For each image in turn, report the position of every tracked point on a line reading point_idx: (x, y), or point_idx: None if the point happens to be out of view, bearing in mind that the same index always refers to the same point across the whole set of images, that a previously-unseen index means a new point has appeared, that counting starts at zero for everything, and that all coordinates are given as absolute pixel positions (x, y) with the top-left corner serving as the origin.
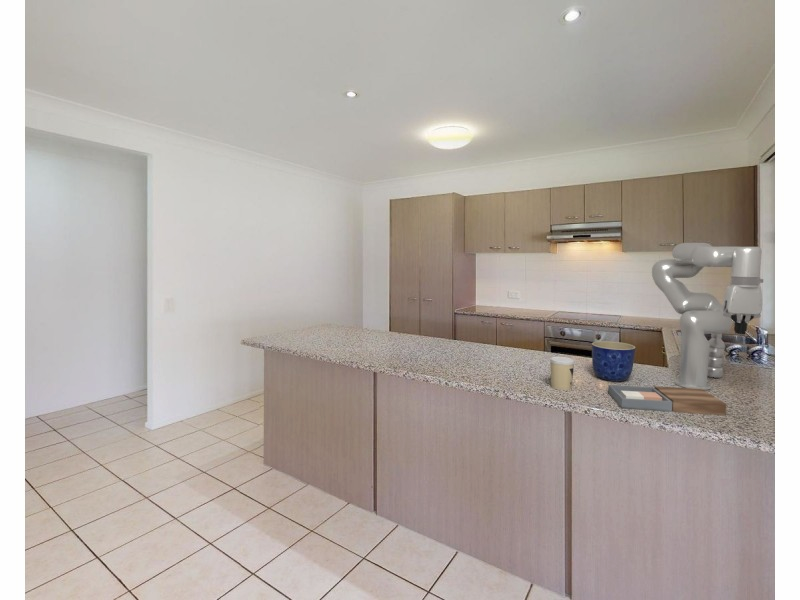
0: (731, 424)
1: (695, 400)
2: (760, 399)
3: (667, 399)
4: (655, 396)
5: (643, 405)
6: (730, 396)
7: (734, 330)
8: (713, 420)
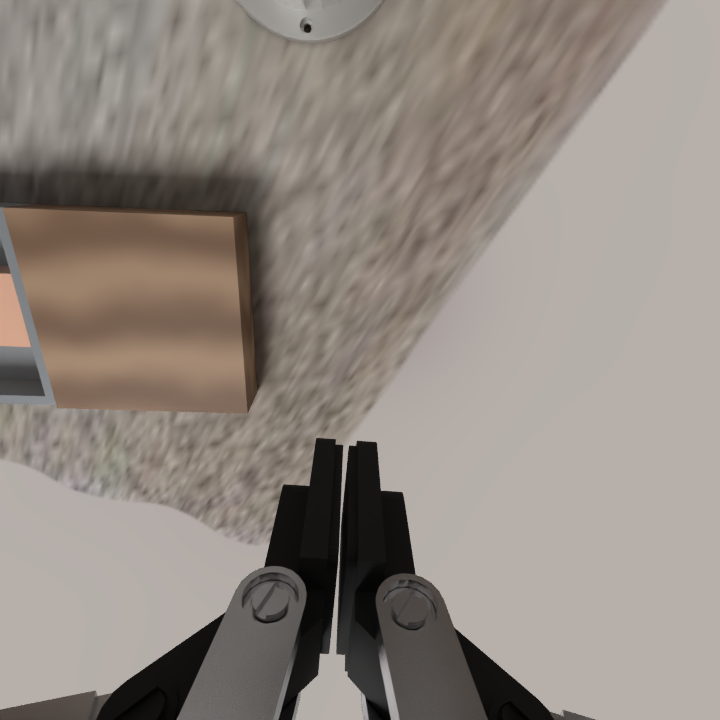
0: (237, 462)
1: (143, 393)
2: (525, 171)
3: (43, 380)
4: (4, 333)
5: None
6: (411, 142)
7: (284, 488)
8: (196, 440)
